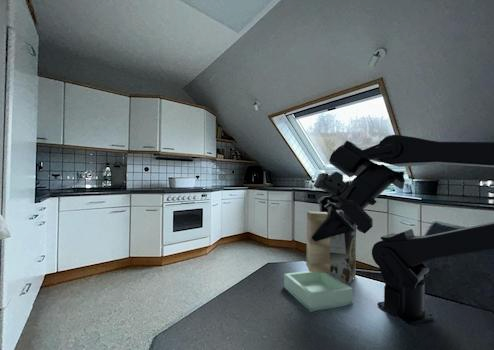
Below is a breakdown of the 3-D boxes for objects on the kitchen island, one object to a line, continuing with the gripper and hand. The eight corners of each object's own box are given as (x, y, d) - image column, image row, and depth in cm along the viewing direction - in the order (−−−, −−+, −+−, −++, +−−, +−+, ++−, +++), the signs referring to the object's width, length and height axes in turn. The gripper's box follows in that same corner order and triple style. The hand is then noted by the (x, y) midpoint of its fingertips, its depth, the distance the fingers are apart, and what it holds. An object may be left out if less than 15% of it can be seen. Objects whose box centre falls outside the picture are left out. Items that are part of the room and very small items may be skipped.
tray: (320, 282, 53) (320, 269, 53) (352, 304, 44) (353, 288, 44) (283, 287, 50) (284, 273, 50) (310, 311, 41) (310, 295, 41)
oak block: (324, 266, 49) (325, 211, 49) (329, 273, 45) (330, 214, 45) (306, 264, 49) (307, 211, 50) (309, 271, 45) (310, 213, 46)
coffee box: (348, 288, 51) (349, 218, 52) (320, 280, 55) (322, 215, 55) (356, 276, 58) (357, 214, 59) (331, 269, 62) (332, 212, 63)
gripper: (326, 165, 57) (282, 205, 58) (354, 154, 39) (289, 215, 39) (357, 196, 56) (312, 237, 56) (402, 201, 37) (334, 263, 38)
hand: (311, 237), depth 48 cm, fingers closed on oak block, 4 cm apart
